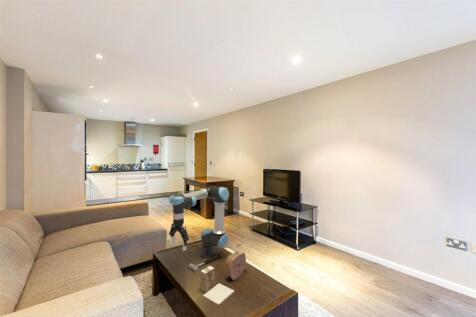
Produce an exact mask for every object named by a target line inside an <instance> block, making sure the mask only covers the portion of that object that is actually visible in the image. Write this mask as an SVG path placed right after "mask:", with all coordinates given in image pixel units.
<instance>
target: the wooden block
mask: <svg viewBox="0 0 476 317" xmlns="http://www.w3.org/2000/svg"><path fill="white" fill-rule="evenodd" d="M215 269H216V268H215V267H214V266H211V265H207V267H205V268H204V269H202V270H200V290H201V291H202V292H204V294H205V293H207V292H208V291H209V290H211V289H212V288H213V287H215V286H216V285H215V284H216V283H215V281H216V280H215V279H216V278H215V276H216V271H215Z"/></svg>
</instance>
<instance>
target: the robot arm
mask: <svg viewBox="0 0 476 317" xmlns="http://www.w3.org/2000/svg"><path fill="white" fill-rule="evenodd" d="M229 197H230V192H229V190H228V188H226V187H224V186H207V187H204V188H201V189H200V190H195V191H191V192H187V193H182V194H178V195H177V194H172V195H171V196H170V197H169V203H170V205H172V218H173V219H172V223H171V225H170V226H171V227H170V229H169V233H168V235H169V236H170V240H171V241H170V242H171V243H170V246H171V247H172V246H174V245H175V246H176V233H177V232H178V233H179V234H180V236H181V239H182V240H183V241H182V252H184V251H186V250H187V249H188V248H187V246H188V241H190V238H189V235H188V231H187V226H184V223H185V212H184V211H185V209H188V208H192V207H194V206H196V205H197V200H201V199H203V200H205V199H209V200H210V199H211V200H213V203H214V229H213V228H205V229H203V230H201V232H200V233H201V234H200V241H201V242H200V244H201V246H200V249H199V254H198V255H199V256H200V257H201V258H205V259H206V258H207V259H208V258H209V259H210V258H213V257H215V255H216V249H215V247H216V248H221V249H222V248H225V246H226V245H227V243H228V241H229V236H228V235H227V234H226V230H225V204H226V203H227V201H228V200H229Z"/></svg>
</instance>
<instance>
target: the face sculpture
mask: <svg viewBox="0 0 476 317" xmlns="http://www.w3.org/2000/svg"><path fill="white" fill-rule="evenodd" d="M246 266H247V258H246V253H245V252H242V253H240V252H239V251H235V252H233V253H231V254H229V255H228V257H227V258H226V261H225V265H224V270H225V276H226V277H227V278H229V279H231V280H233V281H234V280H237V279H238V278H239V277H240V276H241V275H243V273H244V271H245V268H246Z"/></svg>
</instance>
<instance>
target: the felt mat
mask: <svg viewBox="0 0 476 317" xmlns="http://www.w3.org/2000/svg"><path fill="white" fill-rule="evenodd" d="M234 292H235V290H234V289H232V288H229V287H228V286H225V285H223V284H221V283H217V284H216V285H215V286H214V287H213V288H211V289H210V290H209V291H207V292H206V293H205V292H204V294H203V295H202V296H203V298H205V299H207V300H209V301H211V302H213V303H214V304H216V305H217V306H220V305H221V304H222V303H223V302H224V301H226V300H227V298H228V297H229V296H231V295H232V294H233V293H234Z"/></svg>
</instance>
